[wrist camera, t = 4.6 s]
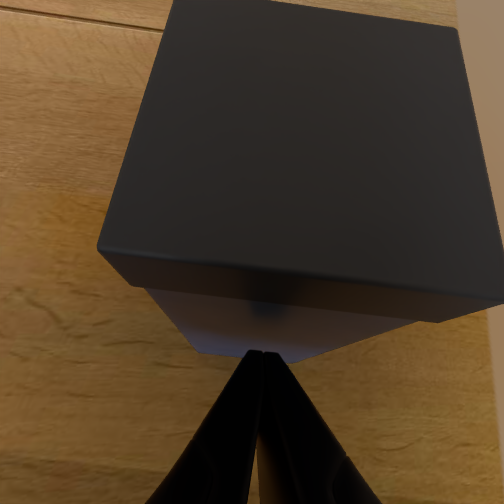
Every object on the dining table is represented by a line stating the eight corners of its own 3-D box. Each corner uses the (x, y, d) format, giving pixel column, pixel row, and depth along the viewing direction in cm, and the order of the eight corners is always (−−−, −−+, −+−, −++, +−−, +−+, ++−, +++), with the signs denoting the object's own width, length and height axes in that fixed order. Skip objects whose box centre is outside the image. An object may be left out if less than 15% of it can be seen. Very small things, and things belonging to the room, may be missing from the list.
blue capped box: (295, 365, 17) (518, 302, 4) (194, 354, 17) (92, 249, 4) (299, 271, 19) (459, 25, 6) (210, 260, 19) (176, -16, 6)
